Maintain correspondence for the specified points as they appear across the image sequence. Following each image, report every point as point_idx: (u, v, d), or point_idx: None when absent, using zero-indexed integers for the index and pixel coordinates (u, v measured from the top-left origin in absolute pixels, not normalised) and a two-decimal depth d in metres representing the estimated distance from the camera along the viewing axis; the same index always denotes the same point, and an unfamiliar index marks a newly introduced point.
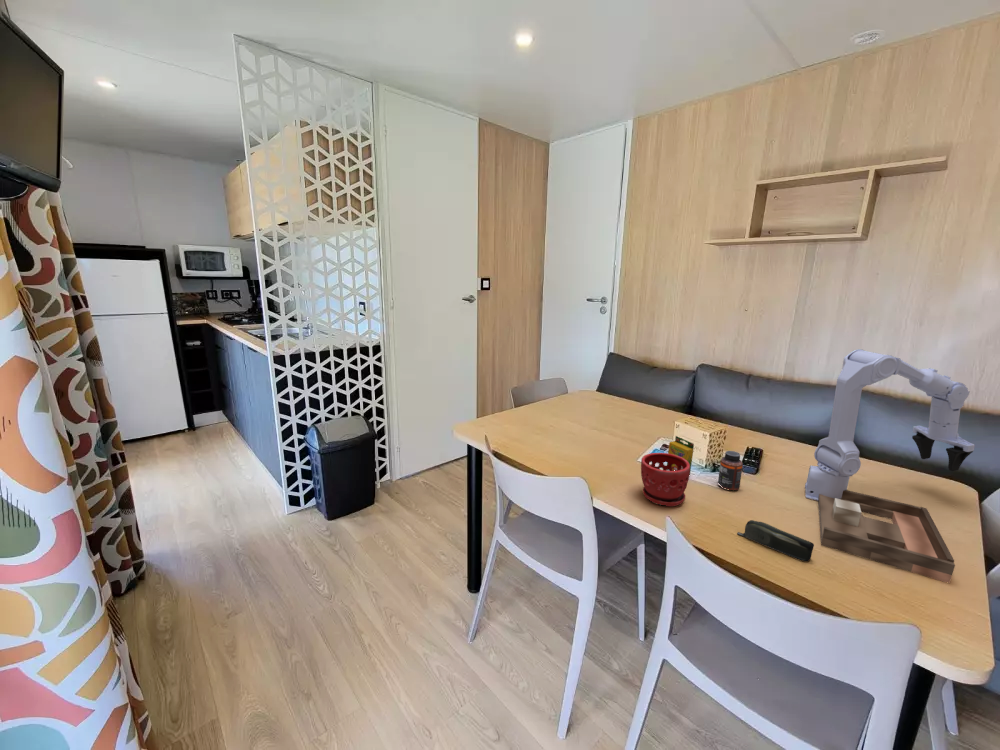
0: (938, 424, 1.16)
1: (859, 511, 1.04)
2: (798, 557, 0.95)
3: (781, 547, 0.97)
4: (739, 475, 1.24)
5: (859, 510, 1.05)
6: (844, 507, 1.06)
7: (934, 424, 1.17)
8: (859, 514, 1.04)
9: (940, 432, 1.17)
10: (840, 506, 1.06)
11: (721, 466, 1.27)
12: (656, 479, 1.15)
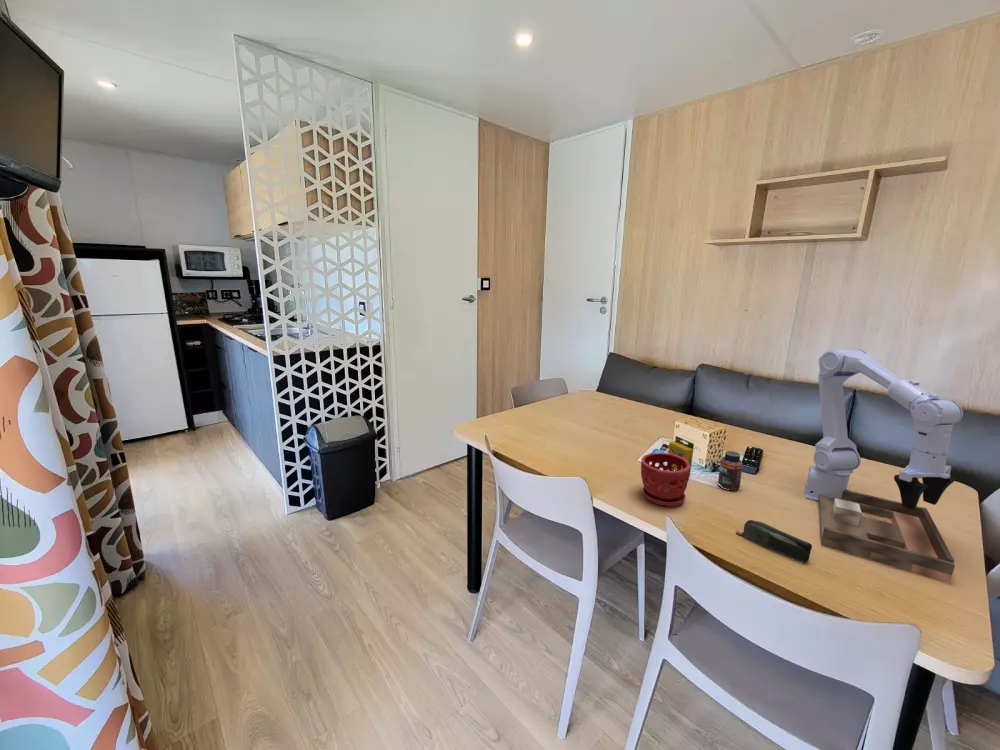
0: (912, 448, 0.98)
1: (859, 511, 1.04)
2: (796, 558, 0.95)
3: (779, 547, 0.97)
4: (739, 475, 1.24)
5: (859, 510, 1.05)
6: (844, 507, 1.06)
7: None
8: (859, 514, 1.04)
9: (910, 458, 0.98)
10: (840, 506, 1.06)
11: (721, 466, 1.27)
12: (656, 479, 1.15)
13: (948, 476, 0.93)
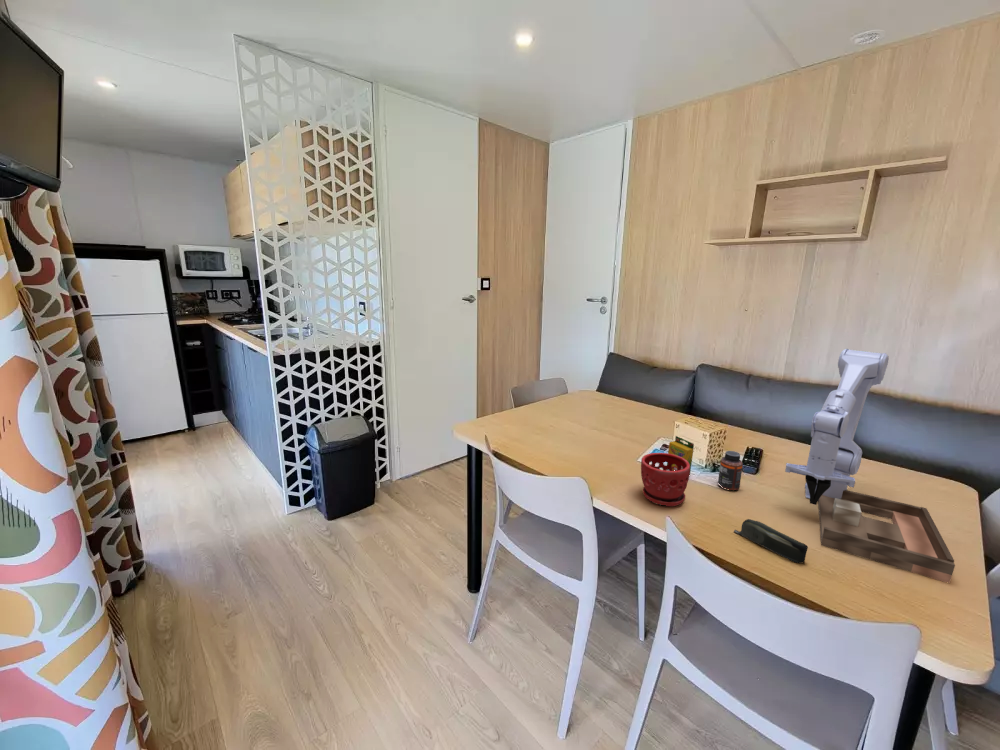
0: None
1: (859, 511, 1.04)
2: (791, 558, 0.95)
3: (775, 547, 0.97)
4: (739, 475, 1.24)
5: (859, 510, 1.05)
6: (844, 507, 1.06)
7: None
8: (859, 514, 1.04)
9: None
10: (840, 506, 1.06)
11: (721, 466, 1.27)
12: (656, 479, 1.15)
13: (820, 478, 1.06)
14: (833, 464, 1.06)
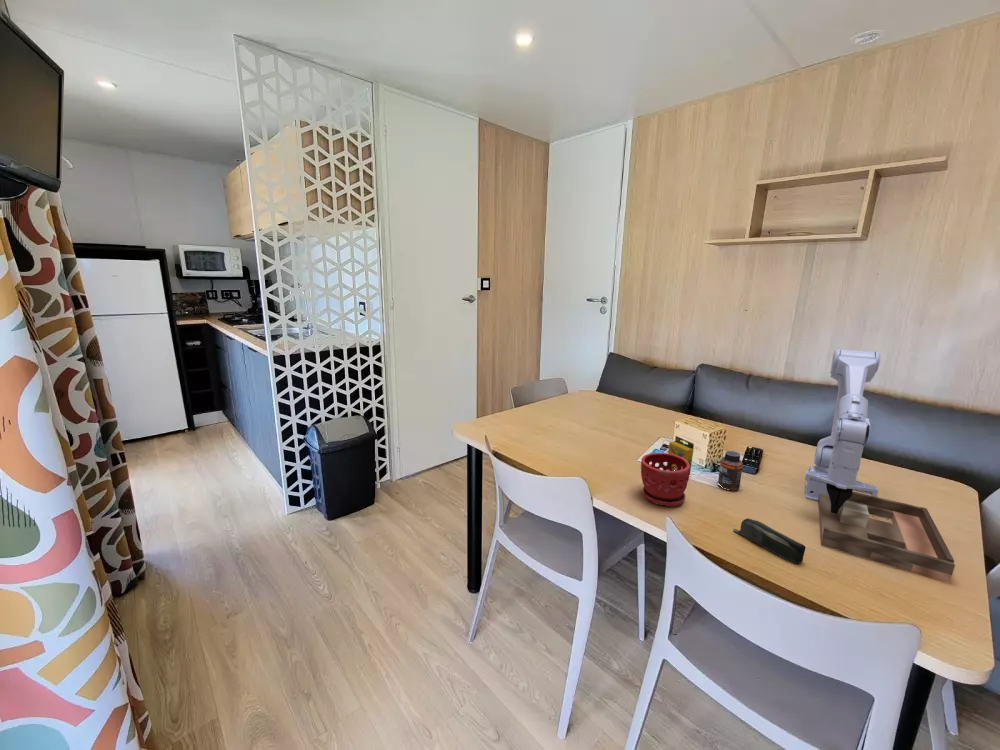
0: None
1: (867, 513, 1.04)
2: (788, 558, 0.95)
3: (772, 546, 0.97)
4: (739, 475, 1.24)
5: (867, 512, 1.04)
6: (852, 509, 1.05)
7: None
8: (867, 516, 1.03)
9: None
10: (847, 508, 1.06)
11: (721, 466, 1.27)
12: (656, 479, 1.15)
13: (842, 487, 1.04)
14: (855, 473, 1.04)
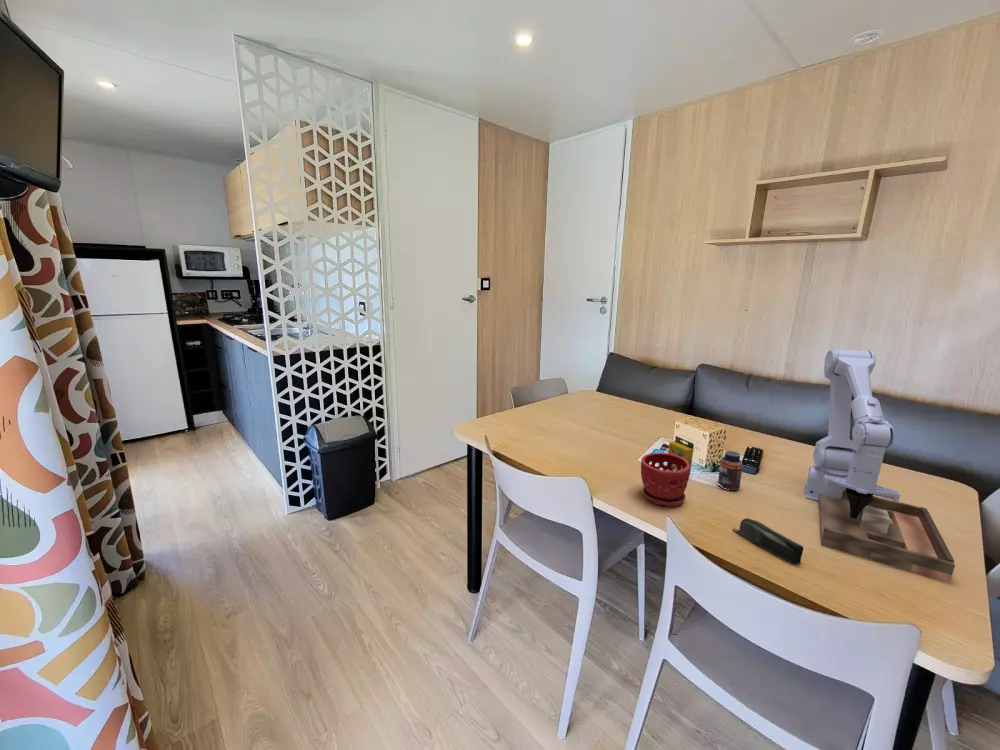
0: None
1: (888, 518, 1.01)
2: (785, 558, 0.95)
3: (770, 546, 0.98)
4: (739, 475, 1.24)
5: (888, 517, 1.02)
6: (872, 514, 1.03)
7: None
8: (888, 521, 1.01)
9: None
10: (867, 513, 1.03)
11: (721, 466, 1.27)
12: (656, 479, 1.15)
13: (862, 492, 1.02)
14: (876, 477, 1.01)
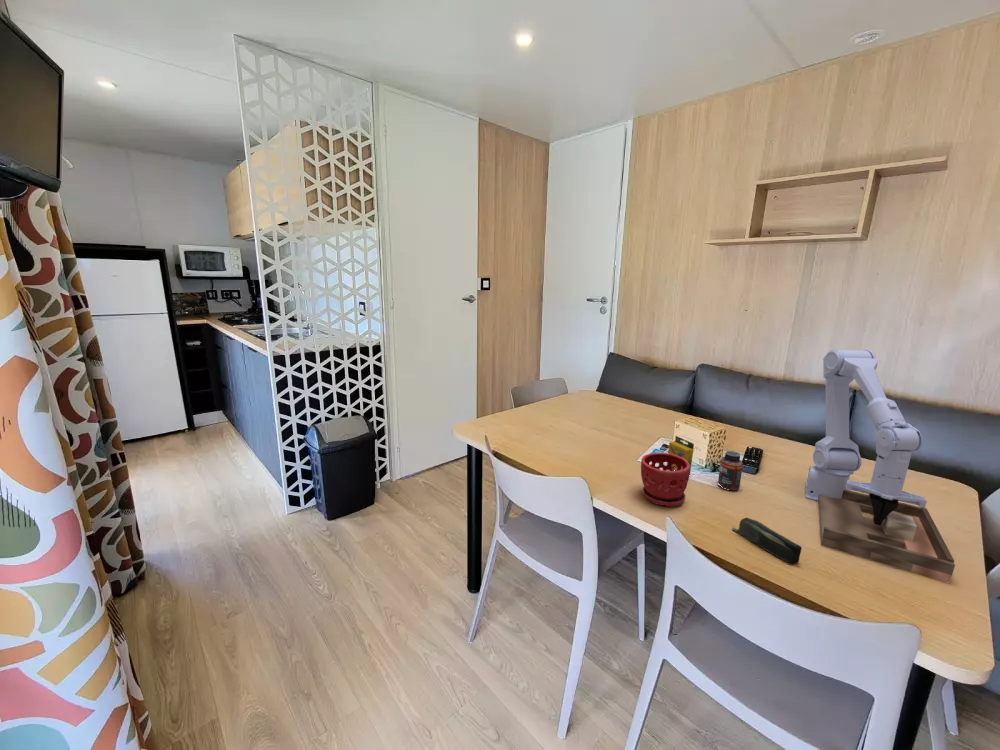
0: None
1: (914, 525, 0.99)
2: (783, 558, 0.95)
3: (769, 546, 0.98)
4: (739, 475, 1.24)
5: (914, 524, 0.99)
6: (897, 521, 1.00)
7: None
8: (914, 528, 0.98)
9: None
10: (892, 520, 1.01)
11: (721, 466, 1.27)
12: (656, 479, 1.15)
13: (887, 497, 0.99)
14: (902, 483, 0.99)
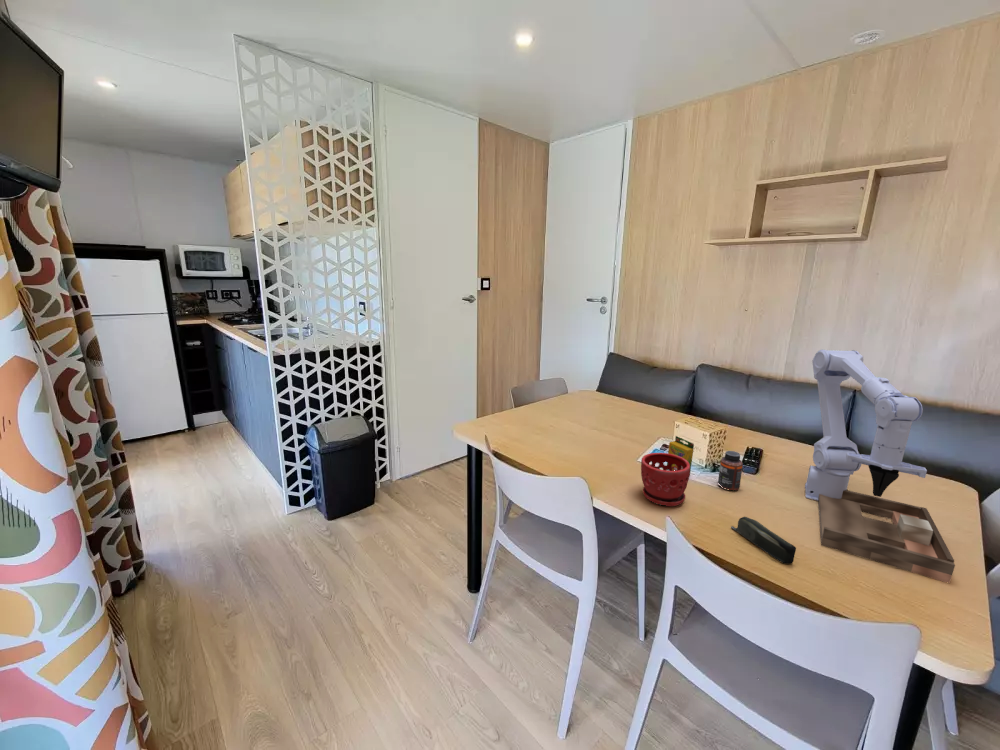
0: None
1: (930, 529, 0.97)
2: (777, 558, 0.95)
3: (764, 545, 0.98)
4: (739, 475, 1.24)
5: (930, 528, 0.98)
6: (913, 524, 0.99)
7: None
8: (931, 532, 0.97)
9: None
10: (908, 524, 0.99)
11: (721, 466, 1.27)
12: (656, 479, 1.15)
13: (887, 468, 0.99)
14: (902, 453, 0.98)
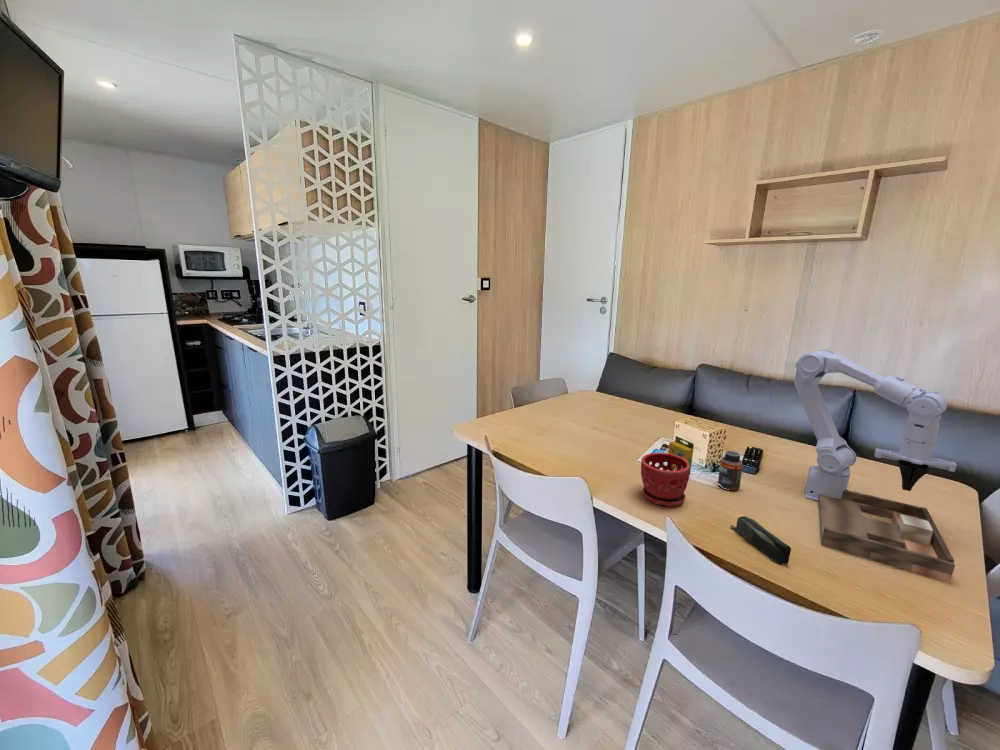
0: None
1: (930, 529, 0.97)
2: (772, 557, 0.95)
3: (760, 544, 0.98)
4: (739, 475, 1.24)
5: (930, 528, 0.98)
6: (913, 524, 0.99)
7: None
8: (931, 532, 0.97)
9: None
10: (908, 524, 0.99)
11: (721, 466, 1.27)
12: (656, 479, 1.15)
13: (918, 462, 1.01)
14: (932, 448, 1.01)
